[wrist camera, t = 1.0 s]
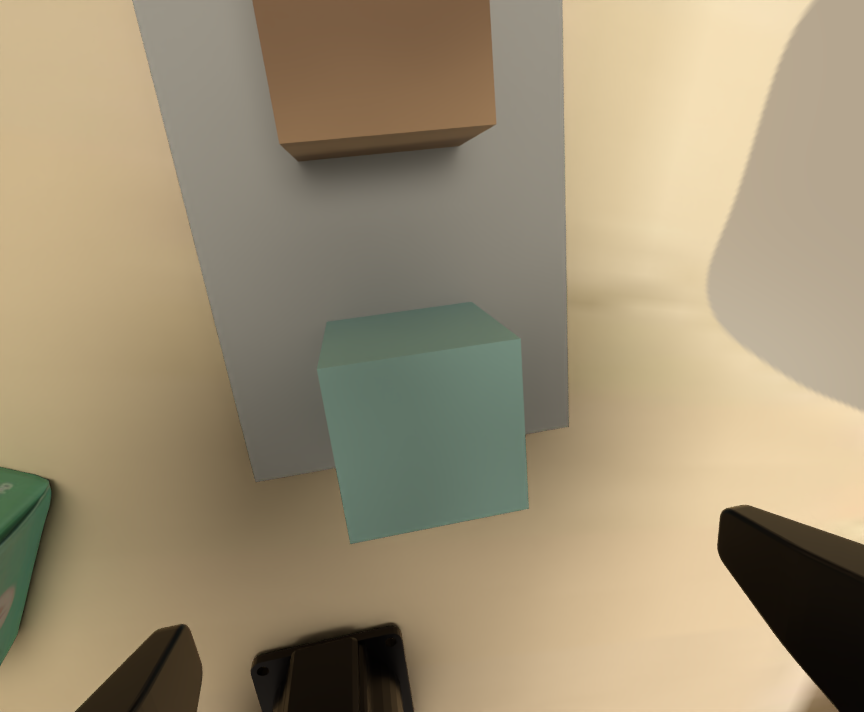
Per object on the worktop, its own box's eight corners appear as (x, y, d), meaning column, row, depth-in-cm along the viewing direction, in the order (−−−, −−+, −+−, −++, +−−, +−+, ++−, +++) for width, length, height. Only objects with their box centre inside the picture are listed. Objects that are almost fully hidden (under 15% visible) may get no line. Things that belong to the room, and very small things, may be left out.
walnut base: (459, 146, 15) (496, 124, 11) (298, 161, 14) (279, 144, 10) (444, -46, 13) (481, -148, 10) (262, -39, 13) (224, -144, 9)
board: (558, 416, 19) (568, 426, 19) (260, 468, 18) (255, 482, 17) (547, -54, 14) (561, -72, 14) (134, -37, 13) (118, -56, 12)
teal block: (481, 430, 18) (528, 508, 13) (350, 453, 17) (350, 543, 13) (471, 301, 16) (520, 338, 12) (326, 321, 16) (316, 369, 11)
